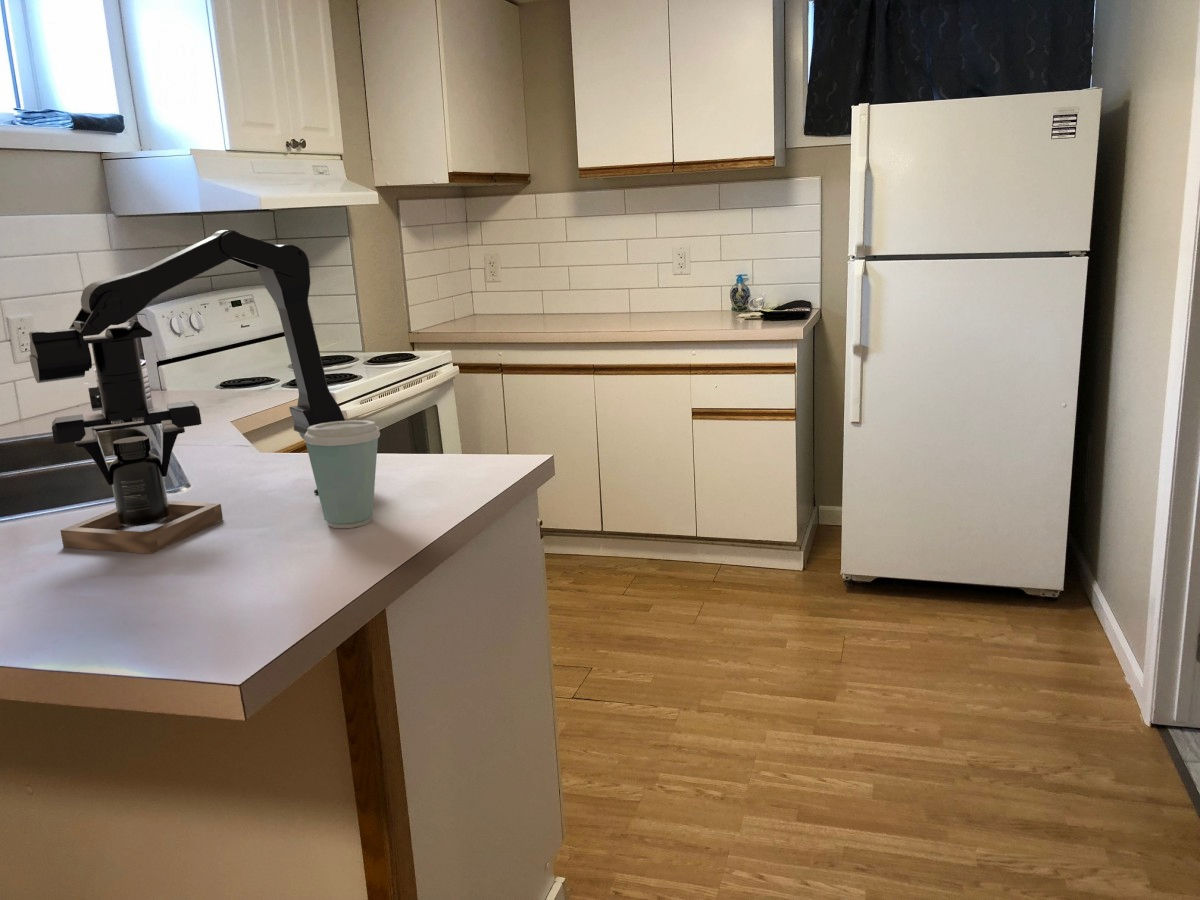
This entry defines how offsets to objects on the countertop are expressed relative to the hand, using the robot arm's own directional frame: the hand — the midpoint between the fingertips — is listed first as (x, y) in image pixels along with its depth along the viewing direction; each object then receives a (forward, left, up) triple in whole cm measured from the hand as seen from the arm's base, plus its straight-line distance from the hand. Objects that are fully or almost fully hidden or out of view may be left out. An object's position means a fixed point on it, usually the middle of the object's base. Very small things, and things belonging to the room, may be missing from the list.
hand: (137, 480), depth 140 cm
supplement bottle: (0, 0, -6) cm, 6 cm away
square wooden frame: (0, 0, -8) cm, 8 cm away
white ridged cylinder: (+75, -78, -8) cm, 108 cm away
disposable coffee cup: (-28, -10, -8) cm, 31 cm away
